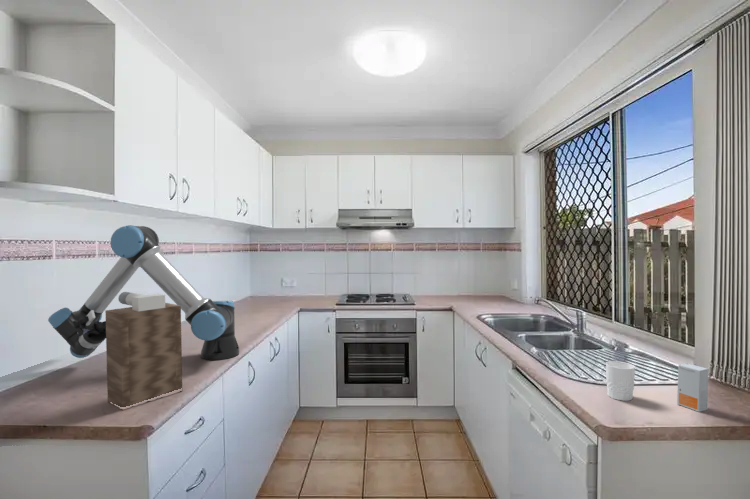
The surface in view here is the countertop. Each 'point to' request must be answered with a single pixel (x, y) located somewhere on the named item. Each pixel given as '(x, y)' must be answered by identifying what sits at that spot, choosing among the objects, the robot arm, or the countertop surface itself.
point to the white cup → (620, 380)
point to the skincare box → (692, 387)
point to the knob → (142, 301)
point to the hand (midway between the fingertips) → (116, 310)
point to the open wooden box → (143, 353)
